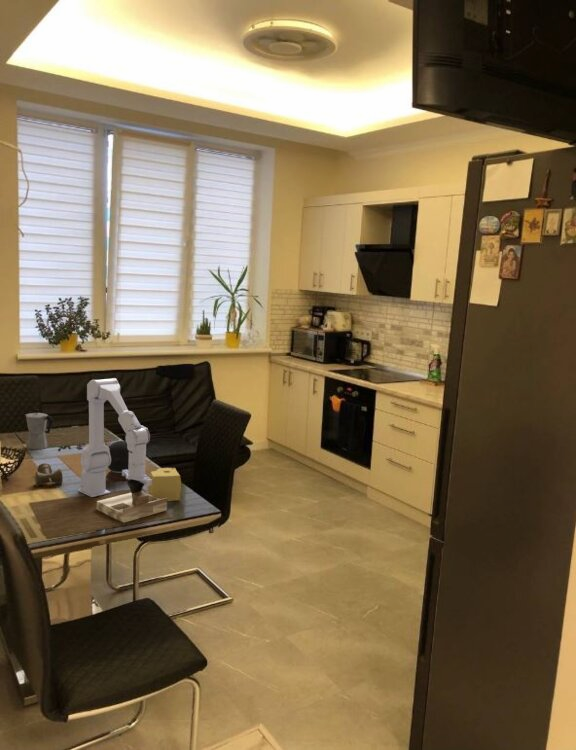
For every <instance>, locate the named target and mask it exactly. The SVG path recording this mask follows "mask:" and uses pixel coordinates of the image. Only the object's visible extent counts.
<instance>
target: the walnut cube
mask: <svg viewBox="0 0 576 750" xmlns="http://www.w3.org/2000/svg"><path fill="white" fill-rule="evenodd" d="M148 502H149V495H148V492H145V491H144V490H141V491H140V492H136V493H133V498H132V504H133V505H134V506H137V505H141V504H145V503H148Z"/></svg>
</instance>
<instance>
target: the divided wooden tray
mask: <svg viewBox="0 0 576 750" xmlns="http://www.w3.org/2000/svg"><path fill="white" fill-rule="evenodd" d="M147 494H148V493H147ZM148 495H149V494H148ZM96 510H97V511H99V512H101V513H103V514H105V515H107V516H109V517H110V518H113V519H115V520H117V521H119V522H122V524H125V523H128V522H131V521H134V520H135V521H136V520H138V519H141V518H145V517H148V516H151V515H154V514H158V513H161V512H166V511H167V510H168V501H167V498H163V499H159V498H156V497H154V496H152V495H149V502H148V503H145V504H141V505H137V506H134V505H133V504H132V493H131V492H129V493H125V494H124V493H122V494H120V495H116V496H112V497H107V498H105V499H101V500H100V499H99V500H96Z"/></svg>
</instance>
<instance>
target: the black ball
mask: <svg viewBox="0 0 576 750" xmlns="http://www.w3.org/2000/svg"><path fill="white" fill-rule="evenodd" d="M107 447H108V448H109V451H110V456H111V463H110V465H109V466H108V469H109V470H110V471H108V473H106V480H109V481H112V482H127V481H130V480H131V479H126V476H122V470H126V469H127V470H128V465H129V450H128V448H127V442H126V440H117V441H115V442H112V443H111V444H110V445H108V446H107Z"/></svg>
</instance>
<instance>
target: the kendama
mask: <svg viewBox="0 0 576 750" xmlns="http://www.w3.org/2000/svg"><path fill="white" fill-rule="evenodd" d="M34 478H35V479H34V482H35V486H36V487H37V488H38V486H39V487H42V485H44V484H47V483H49V484H52V483H55V484H58V485H61V486H62V484H63V479H64V477H63V471H62V468H61V469H60V468H58V469H57V470H56V471H53V469H52V467H51V465H50V464H49V463H47V462H44V463H40V464H39V465H38V466H37V471H36V472H35V474H34Z"/></svg>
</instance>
